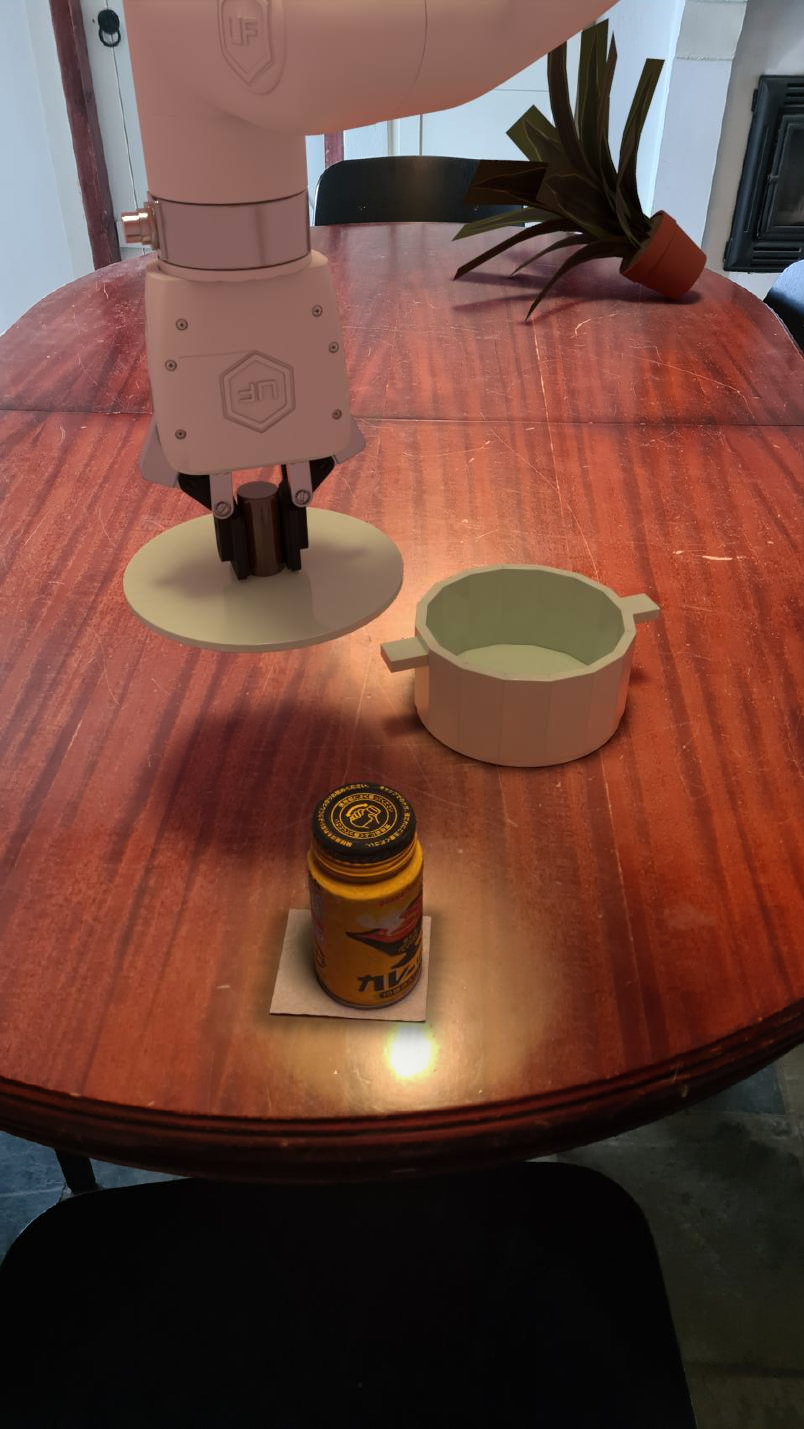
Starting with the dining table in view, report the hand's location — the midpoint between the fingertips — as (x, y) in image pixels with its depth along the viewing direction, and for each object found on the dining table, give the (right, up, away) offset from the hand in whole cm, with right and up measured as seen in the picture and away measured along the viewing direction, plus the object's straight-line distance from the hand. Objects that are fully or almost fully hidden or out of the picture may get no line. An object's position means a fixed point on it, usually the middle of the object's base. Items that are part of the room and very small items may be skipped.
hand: (264, 562), depth 61 cm
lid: (0, -1, +1) cm, 1 cm away
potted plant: (+35, +57, +102) cm, 121 cm away
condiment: (+5, -23, -2) cm, 24 cm away
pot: (+17, -8, +17) cm, 26 cm away
